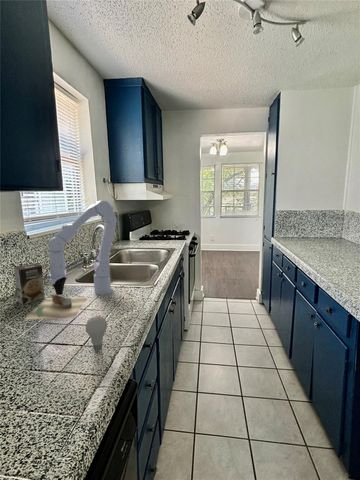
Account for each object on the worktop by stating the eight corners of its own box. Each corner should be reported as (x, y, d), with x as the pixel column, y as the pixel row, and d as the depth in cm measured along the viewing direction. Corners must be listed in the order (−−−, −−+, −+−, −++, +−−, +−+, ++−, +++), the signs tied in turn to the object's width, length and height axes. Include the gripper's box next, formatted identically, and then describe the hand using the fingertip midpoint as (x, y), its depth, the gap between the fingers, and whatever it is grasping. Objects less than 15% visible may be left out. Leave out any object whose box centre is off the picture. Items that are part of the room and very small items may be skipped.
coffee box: (23, 307, 105) (19, 270, 103) (17, 303, 109) (13, 267, 107) (45, 300, 113) (42, 265, 110) (38, 296, 116) (35, 262, 114)
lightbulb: (100, 342, 81) (99, 310, 79) (112, 349, 77) (110, 316, 75) (83, 351, 76) (81, 317, 74) (94, 359, 72) (92, 324, 70)
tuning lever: (73, 305, 105) (73, 298, 104) (65, 308, 101) (65, 301, 101) (56, 299, 110) (55, 293, 110) (48, 302, 107) (47, 296, 107)
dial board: (47, 300, 113) (46, 297, 113) (88, 298, 114) (88, 296, 114) (24, 321, 93) (23, 318, 93) (74, 320, 95) (74, 317, 95)
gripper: (54, 260, 116) (56, 288, 119) (40, 269, 102) (43, 301, 104) (70, 260, 117) (72, 288, 119) (58, 269, 103) (60, 300, 105)
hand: (59, 294), depth 112 cm, fingers closed
